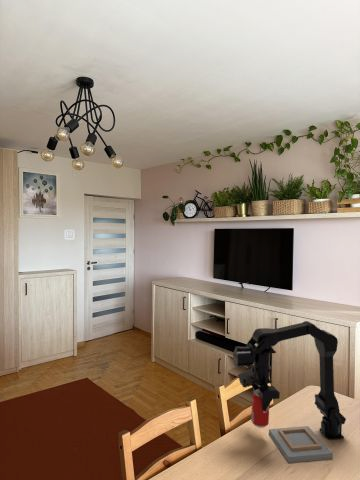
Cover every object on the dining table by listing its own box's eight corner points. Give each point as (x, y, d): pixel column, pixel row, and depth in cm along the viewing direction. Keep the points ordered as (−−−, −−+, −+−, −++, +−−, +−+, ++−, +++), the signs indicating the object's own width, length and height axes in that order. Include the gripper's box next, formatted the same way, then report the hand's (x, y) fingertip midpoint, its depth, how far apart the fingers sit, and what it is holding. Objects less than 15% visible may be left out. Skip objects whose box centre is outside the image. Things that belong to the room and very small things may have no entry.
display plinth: (308, 431, 133) (308, 423, 133) (332, 458, 117) (332, 449, 117) (268, 434, 131) (269, 426, 131) (288, 462, 115) (288, 453, 115)
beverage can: (269, 430, 123) (270, 397, 123) (251, 427, 124) (252, 395, 124) (267, 420, 130) (269, 389, 129) (250, 418, 131) (251, 387, 130)
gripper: (232, 355, 134) (232, 395, 135) (249, 376, 116) (248, 422, 116) (260, 354, 136) (259, 393, 136) (280, 374, 117) (279, 419, 118)
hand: (260, 406), depth 127 cm, fingers closed on beverage can, 6 cm apart
